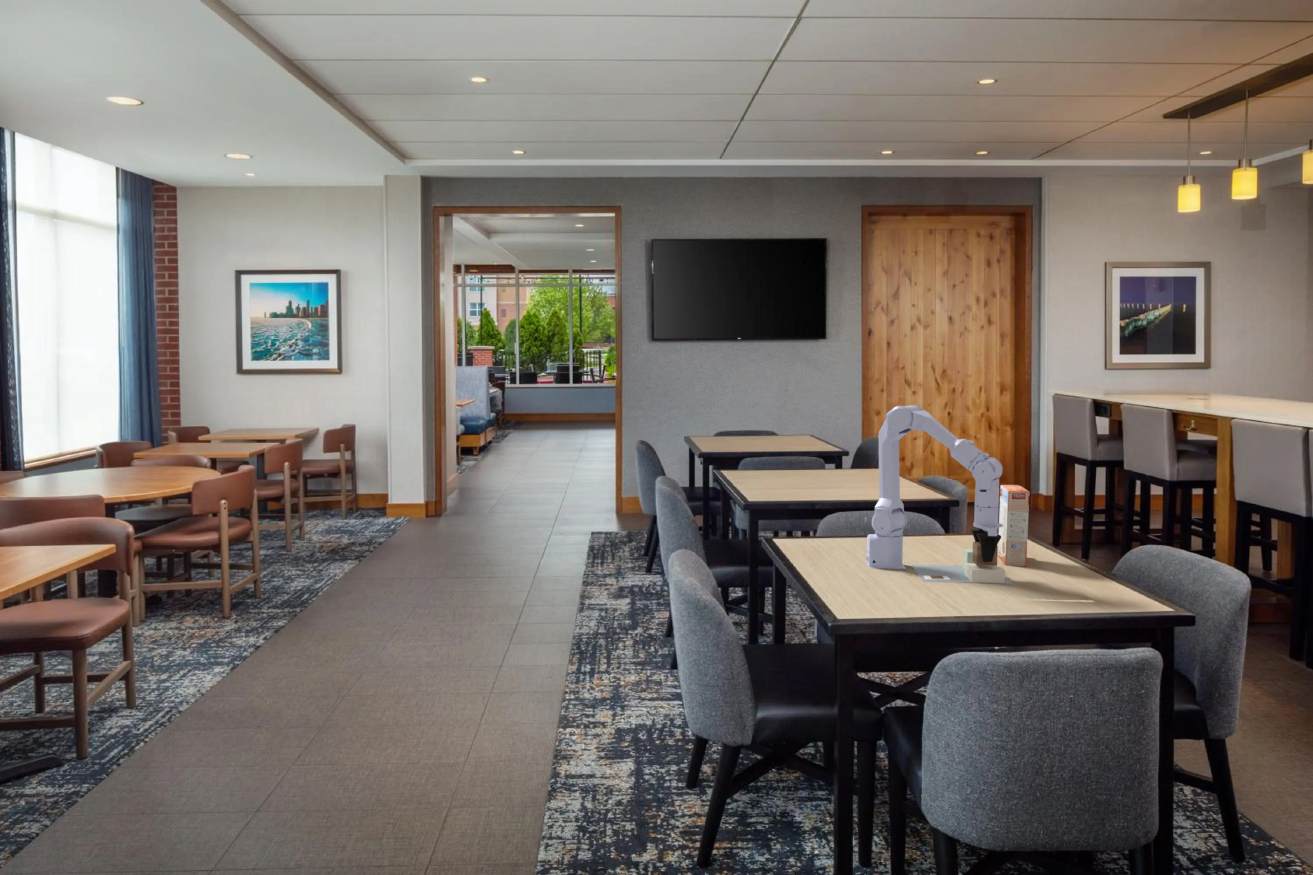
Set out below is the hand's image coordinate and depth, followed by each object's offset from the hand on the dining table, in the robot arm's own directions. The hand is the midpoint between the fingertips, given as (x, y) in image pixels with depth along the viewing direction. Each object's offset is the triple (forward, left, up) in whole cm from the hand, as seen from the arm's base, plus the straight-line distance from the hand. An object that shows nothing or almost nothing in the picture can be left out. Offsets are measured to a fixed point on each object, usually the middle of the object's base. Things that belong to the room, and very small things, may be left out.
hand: (984, 559), depth 249 cm
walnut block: (0, 0, -1) cm, 1 cm away
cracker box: (+13, +24, -6) cm, 28 cm away
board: (-5, +5, -5) cm, 9 cm away
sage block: (0, +11, -5) cm, 12 cm away
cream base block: (0, 0, -5) cm, 5 cm away
